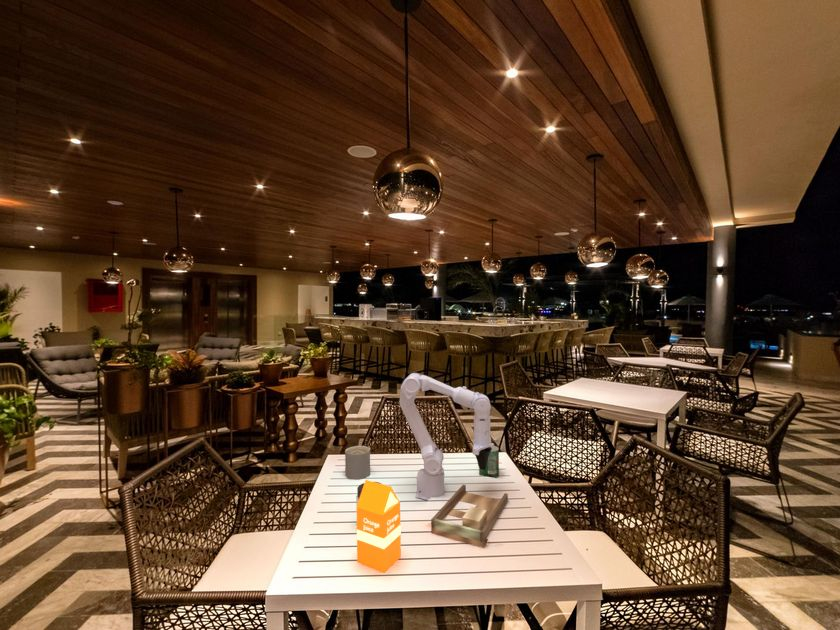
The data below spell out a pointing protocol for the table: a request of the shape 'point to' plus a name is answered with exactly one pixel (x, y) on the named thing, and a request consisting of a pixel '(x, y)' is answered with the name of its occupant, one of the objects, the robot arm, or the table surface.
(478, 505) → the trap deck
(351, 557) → the table surface
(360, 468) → the coffee mug
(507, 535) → the table surface
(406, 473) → the table surface
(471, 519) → the maple block
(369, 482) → the orange juice
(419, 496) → the robot arm
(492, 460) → the canned tomato
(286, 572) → the table surface
